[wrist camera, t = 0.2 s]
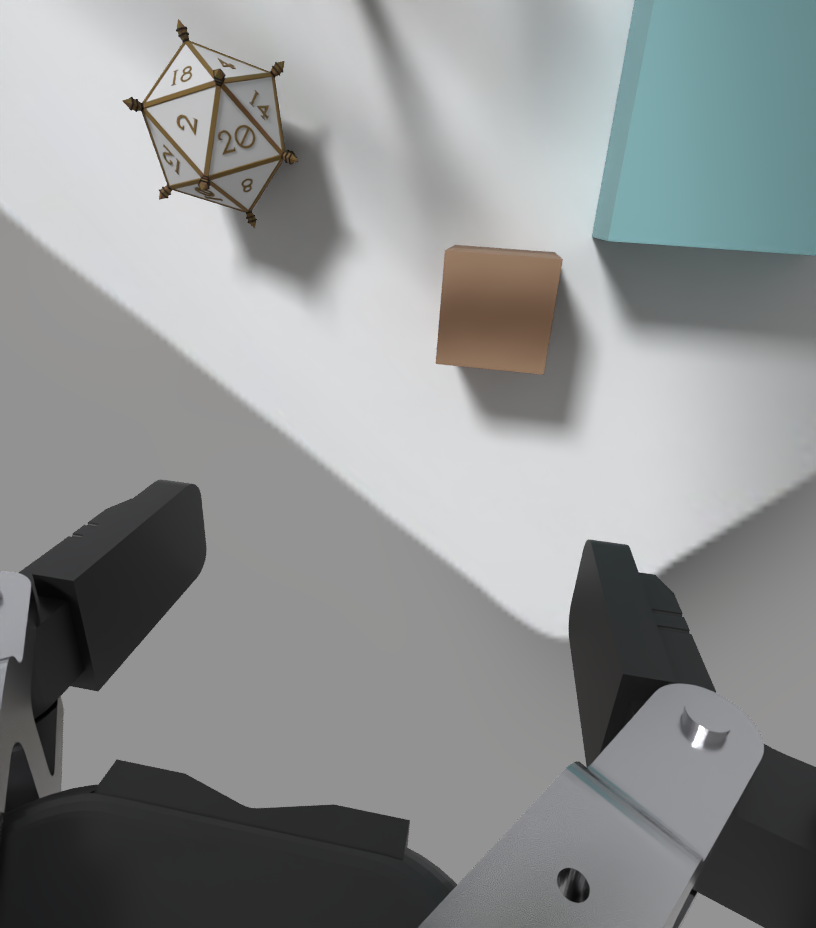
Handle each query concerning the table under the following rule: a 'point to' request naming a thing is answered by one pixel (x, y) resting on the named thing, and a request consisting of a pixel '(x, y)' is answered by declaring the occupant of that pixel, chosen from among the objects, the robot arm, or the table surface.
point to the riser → (715, 128)
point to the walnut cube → (497, 308)
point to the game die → (215, 126)
